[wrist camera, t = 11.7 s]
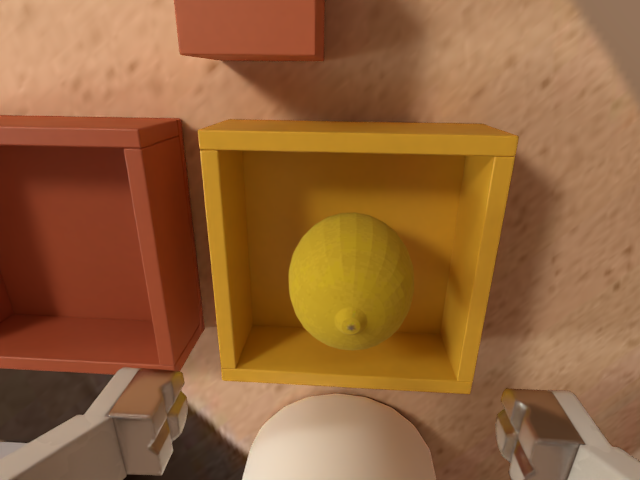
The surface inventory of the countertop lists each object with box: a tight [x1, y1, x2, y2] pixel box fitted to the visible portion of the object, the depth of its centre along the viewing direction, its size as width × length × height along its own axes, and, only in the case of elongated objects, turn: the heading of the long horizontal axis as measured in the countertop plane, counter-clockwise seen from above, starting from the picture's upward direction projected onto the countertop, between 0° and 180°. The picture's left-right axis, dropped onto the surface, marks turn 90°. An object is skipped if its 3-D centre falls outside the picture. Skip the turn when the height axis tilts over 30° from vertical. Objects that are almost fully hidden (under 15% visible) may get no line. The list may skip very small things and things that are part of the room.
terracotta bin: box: [0, 115, 204, 374], centre depth 21 cm, size 13×13×4 cm
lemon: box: [289, 212, 414, 351], centre depth 18 cm, size 6×6×8 cm
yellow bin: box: [198, 119, 519, 394], centre depth 20 cm, size 13×13×4 cm
